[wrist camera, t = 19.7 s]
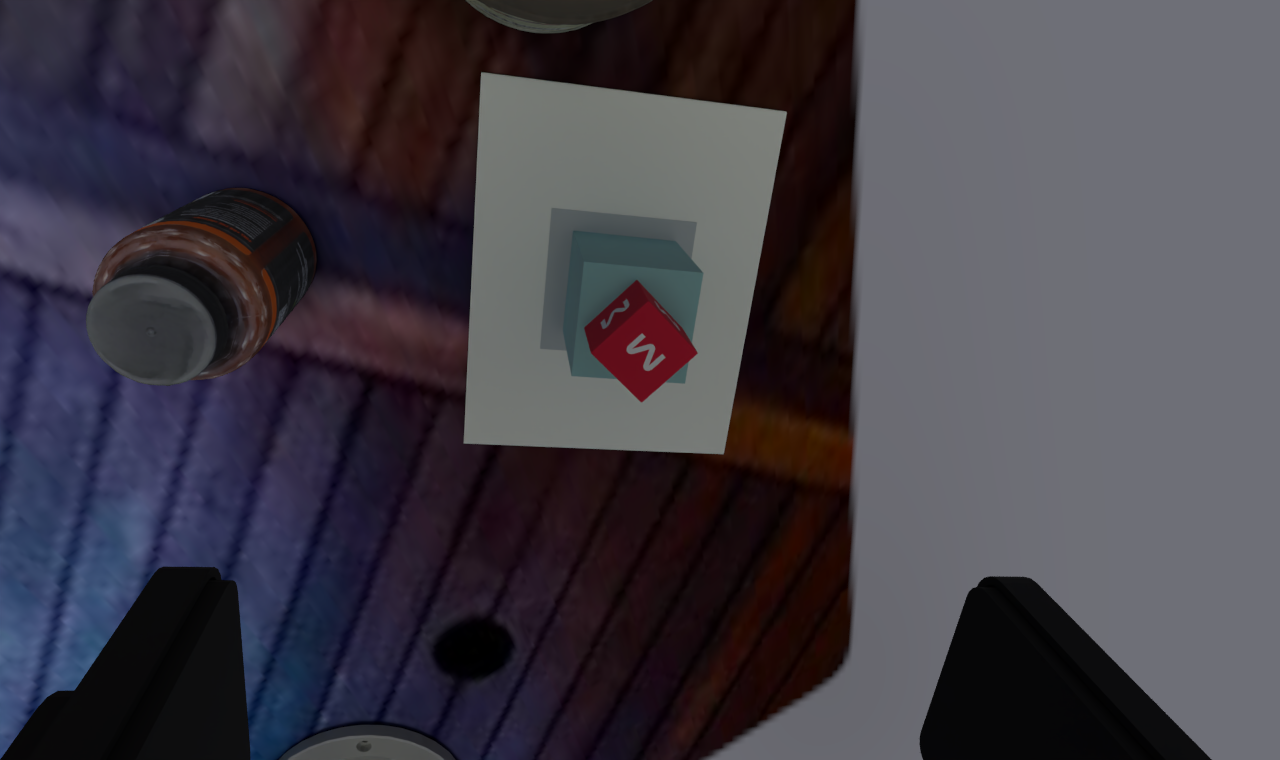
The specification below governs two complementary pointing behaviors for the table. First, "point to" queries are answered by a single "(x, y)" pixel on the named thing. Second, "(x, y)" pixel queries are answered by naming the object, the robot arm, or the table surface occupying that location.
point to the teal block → (609, 271)
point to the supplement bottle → (200, 287)
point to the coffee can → (553, 12)
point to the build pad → (619, 205)
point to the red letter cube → (639, 341)
